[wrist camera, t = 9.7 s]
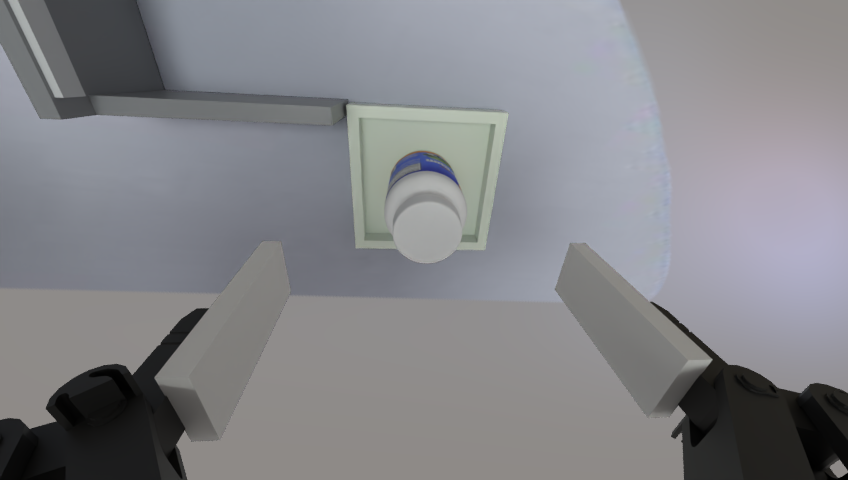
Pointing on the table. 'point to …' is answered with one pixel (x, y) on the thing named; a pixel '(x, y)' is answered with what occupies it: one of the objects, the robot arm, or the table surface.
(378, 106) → the tray
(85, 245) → the table surface
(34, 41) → the bay
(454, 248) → the pill bottle
